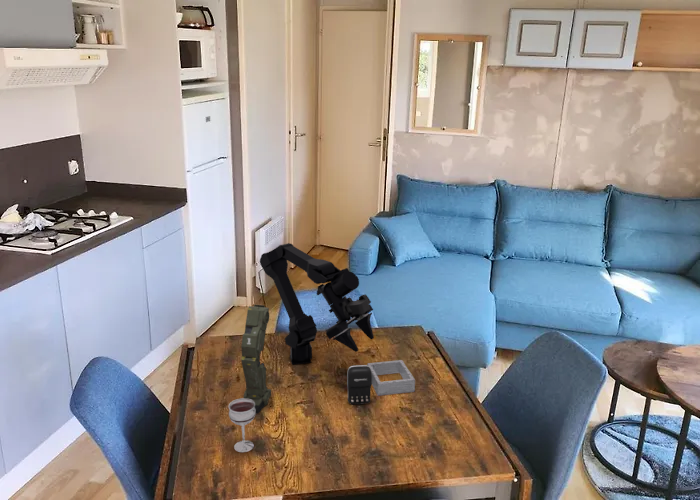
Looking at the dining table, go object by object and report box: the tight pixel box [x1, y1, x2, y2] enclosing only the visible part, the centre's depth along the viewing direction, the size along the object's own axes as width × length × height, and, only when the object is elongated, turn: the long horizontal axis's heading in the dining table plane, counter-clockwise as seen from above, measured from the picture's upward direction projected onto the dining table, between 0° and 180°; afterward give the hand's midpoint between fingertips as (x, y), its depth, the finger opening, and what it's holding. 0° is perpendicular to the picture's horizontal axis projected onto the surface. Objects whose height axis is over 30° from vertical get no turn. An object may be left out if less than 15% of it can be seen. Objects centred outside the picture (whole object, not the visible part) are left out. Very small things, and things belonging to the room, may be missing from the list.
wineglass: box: [228, 397, 257, 453], centre depth 150 cm, size 7×7×12 cm
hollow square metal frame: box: [366, 359, 416, 396], centre depth 183 cm, size 12×13×4 cm
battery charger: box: [346, 364, 373, 405], centre depth 171 cm, size 7×4×11 cm, turn 96°
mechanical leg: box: [240, 304, 272, 415], centre depth 169 cm, size 14×7×30 cm, turn 168°
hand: (365, 344), depth 177 cm, fingers open, 9 cm apart
